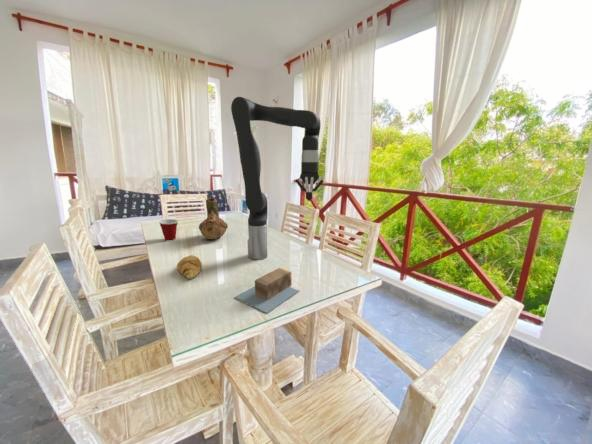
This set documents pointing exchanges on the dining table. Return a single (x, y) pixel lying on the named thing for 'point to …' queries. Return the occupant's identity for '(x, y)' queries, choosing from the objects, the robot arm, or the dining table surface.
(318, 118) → the robot arm
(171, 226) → the plastic cup
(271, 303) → the slate mat
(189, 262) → the croissant
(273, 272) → the walnut block
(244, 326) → the dining table surface
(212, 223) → the ceramic vessel
